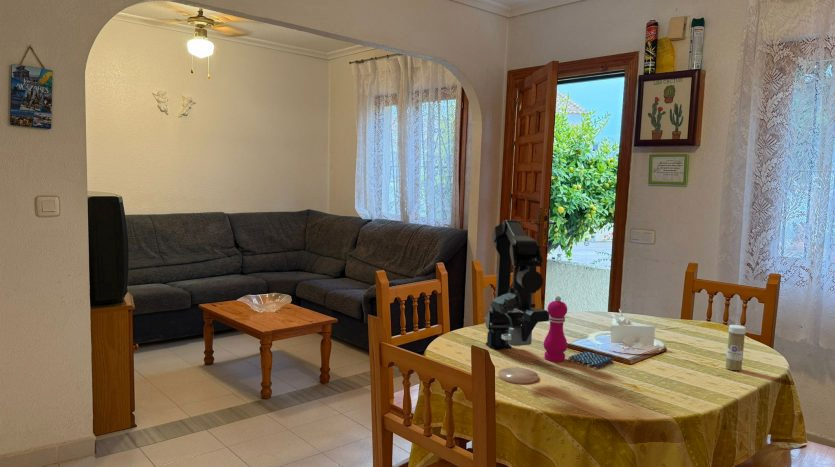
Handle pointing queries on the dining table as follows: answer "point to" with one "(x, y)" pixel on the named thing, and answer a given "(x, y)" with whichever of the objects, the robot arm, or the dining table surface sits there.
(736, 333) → the sprinkles bottle
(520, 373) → the terracotta coaster
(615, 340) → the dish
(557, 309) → the pepper mill
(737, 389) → the dining table surface
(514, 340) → the charcoal plug
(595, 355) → the woven mat
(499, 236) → the robot arm
